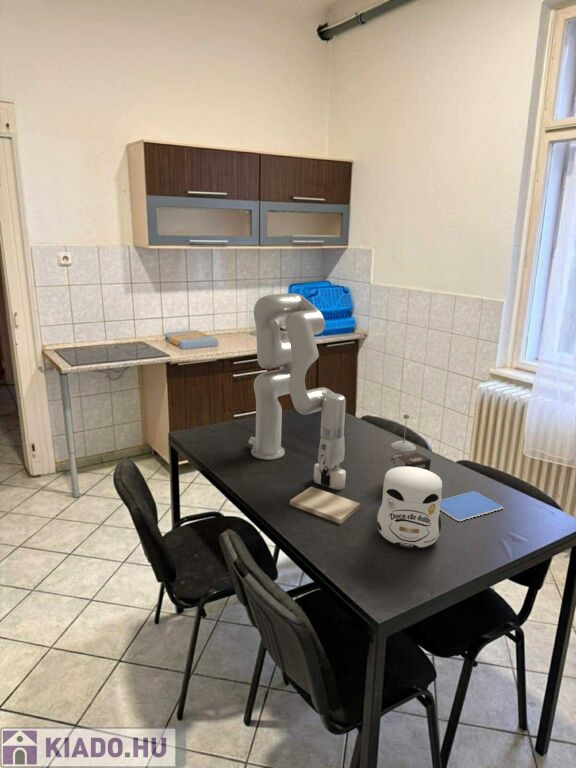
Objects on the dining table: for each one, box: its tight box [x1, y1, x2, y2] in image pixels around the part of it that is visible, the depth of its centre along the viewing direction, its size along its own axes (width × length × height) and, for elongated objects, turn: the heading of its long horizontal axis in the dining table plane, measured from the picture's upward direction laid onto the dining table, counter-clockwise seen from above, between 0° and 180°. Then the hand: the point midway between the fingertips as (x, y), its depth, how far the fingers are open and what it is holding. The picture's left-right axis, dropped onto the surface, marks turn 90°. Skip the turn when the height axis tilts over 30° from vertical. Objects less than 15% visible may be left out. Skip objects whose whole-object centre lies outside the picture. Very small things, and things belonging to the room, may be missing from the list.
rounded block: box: [313, 462, 347, 491], centre depth 179 cm, size 11×4×6 cm, turn 55°
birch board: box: [289, 486, 361, 525], centre depth 165 cm, size 18×12×2 cm, turn 55°
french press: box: [388, 413, 417, 471], centre depth 179 cm, size 10×12×25 cm
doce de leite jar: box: [376, 466, 443, 550], centre depth 148 cm, size 17×17×18 cm
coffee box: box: [394, 452, 432, 471], centre depth 166 cm, size 9×6×16 cm
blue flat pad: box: [440, 490, 504, 522], centre depth 168 cm, size 19×13×1 cm, turn 118°
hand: (329, 481), depth 180 cm, fingers closed on rounded block, 4 cm apart
